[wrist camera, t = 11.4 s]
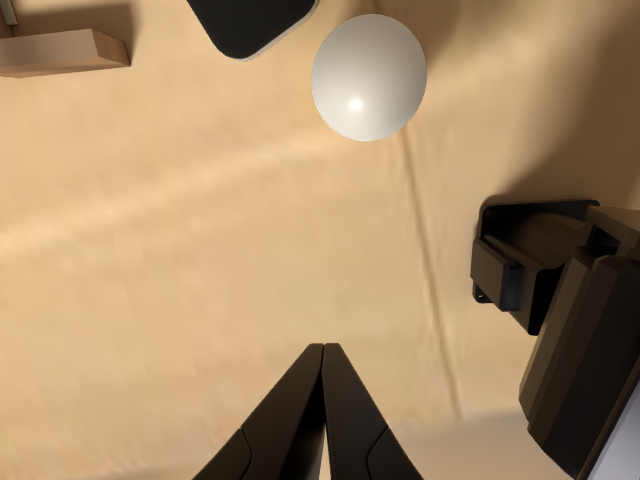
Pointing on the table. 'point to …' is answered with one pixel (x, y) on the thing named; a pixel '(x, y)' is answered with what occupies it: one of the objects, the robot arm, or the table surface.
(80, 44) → the frame
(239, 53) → the remote control
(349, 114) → the white rounded piece
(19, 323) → the table surface
